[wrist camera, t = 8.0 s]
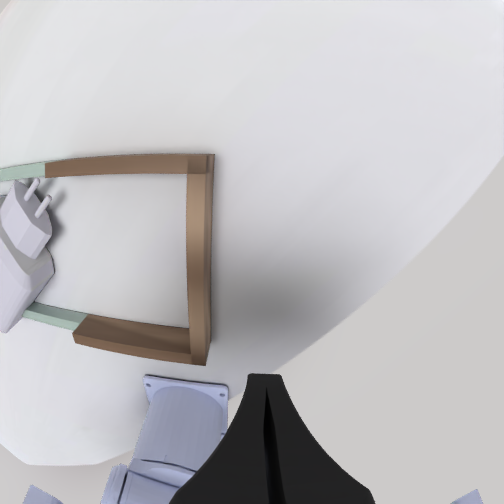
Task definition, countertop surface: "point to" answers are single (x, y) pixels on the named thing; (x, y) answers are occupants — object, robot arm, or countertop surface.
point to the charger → (22, 251)
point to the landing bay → (35, 310)
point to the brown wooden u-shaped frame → (197, 250)
